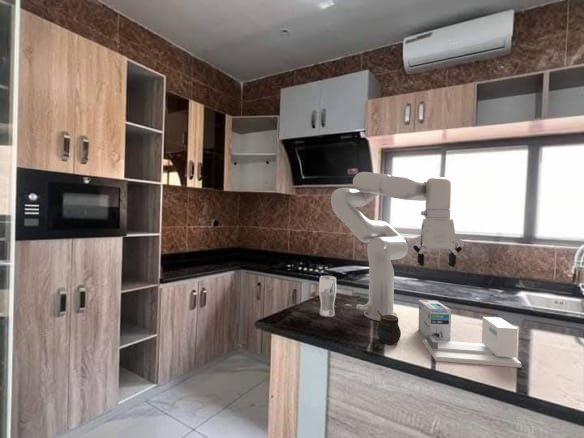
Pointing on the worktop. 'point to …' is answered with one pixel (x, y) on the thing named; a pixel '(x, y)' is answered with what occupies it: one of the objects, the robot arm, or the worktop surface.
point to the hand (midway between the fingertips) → (436, 265)
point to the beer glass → (327, 295)
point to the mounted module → (499, 336)
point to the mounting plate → (466, 353)
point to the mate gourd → (388, 329)
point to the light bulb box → (434, 320)
